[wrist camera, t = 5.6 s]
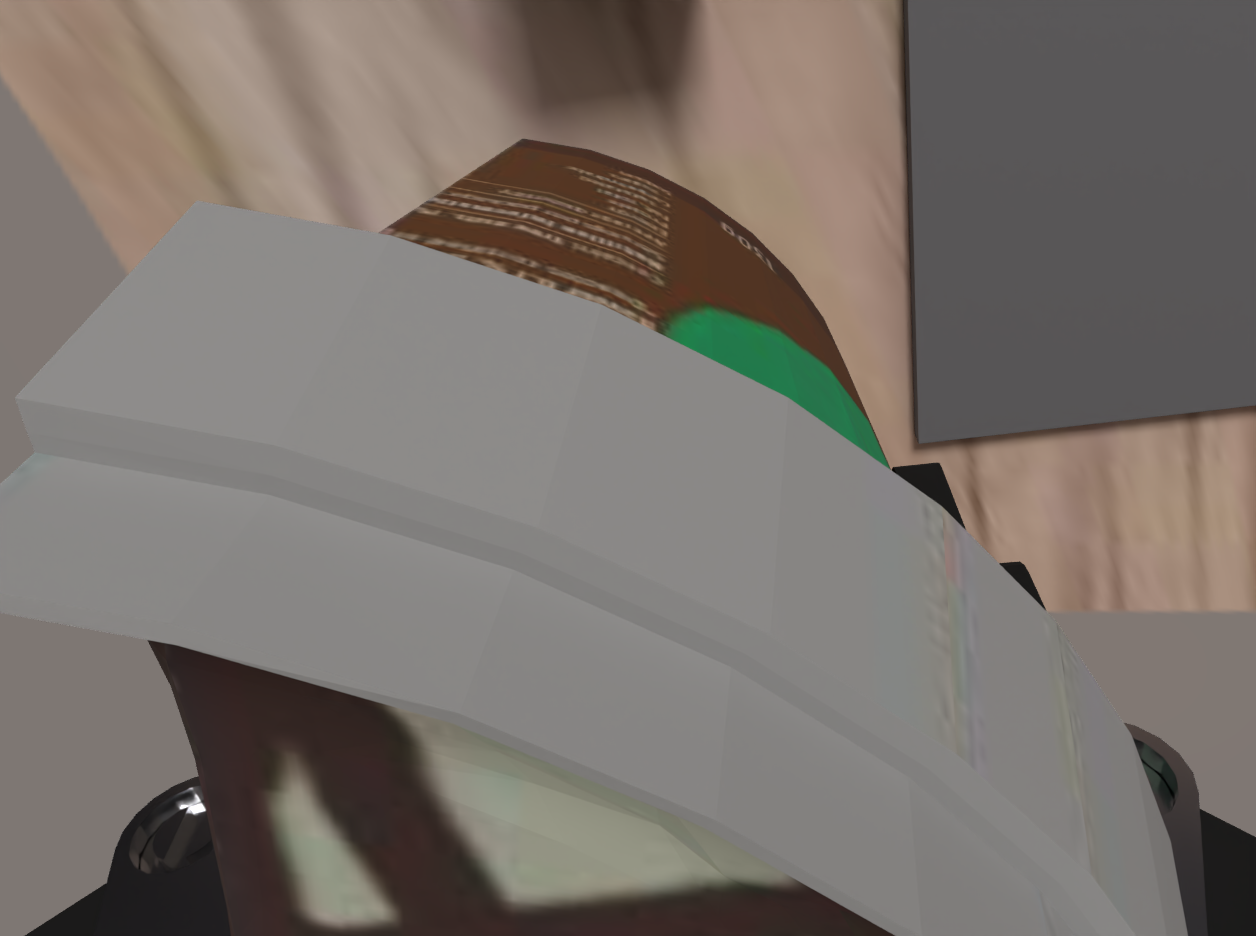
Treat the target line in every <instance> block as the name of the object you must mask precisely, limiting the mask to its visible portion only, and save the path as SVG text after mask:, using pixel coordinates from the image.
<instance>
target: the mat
mask: <svg viewBox="0 0 1256 936" xmlns="http://www.w3.org/2000/svg"><path fill="white" fill-rule="evenodd" d="M904 35H905V73H906V111H907V149H908V187H909V225H910V263H911V301H912V339H913V376H914V414H915V435H916V438H917V441H918V443H919V444H921V443H930V442H938V441H947V440H956V439H965V438H973V437H982V436H991V435H1000V434H1009V433H1017V432H1026V431H1035V430H1044V429H1052V428H1061V427H1070V426H1079V425H1088V424H1096V423H1105V422H1114V421H1123V420H1131V419H1140V418H1149V417H1158V416H1167V415H1175V414H1184V413H1193V412H1202V411H1210V410H1219V409H1228V408H1237V407H1246V406H1254V405H1256V0H904Z"/></svg>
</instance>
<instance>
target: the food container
mask: <svg viewBox="0 0 1256 936" xmlns="http://www.w3.org/2000/svg"><path fill="white" fill-rule="evenodd" d="M15 399H16V402H17V405H18V408H19V411H20V413H21V416H22V419H23V422H24V425H25V428H26V431H27V434H28V436H29V438H30V441H31V443H32V446H33V449H34V451H35V453H34V454H33V455H32V456H31V457H29V458H28V459H27V460H26V461H25V462H24V463H23V464H22V465H21V466H20V467H19V468H17V469H16V470H15V471H14V472H13V473H12V474H11V475H10V476H9V477H7V478H6V479H5V480H4V481H3V482H2V483H1V484H0V613H4V614H10V615H15V616H20V617H26V618H31V619H37V620H42V621H48V622H53V623H59V624H64V625H69V626H75V627H80V628H86V629H91V630H96V631H102V632H108V633H113V634H118V635H124V636H129V637H134V638H140V639H145V640H148V642H149V644H150V646H151V648H152V650H153V652H154V654H155V656H156V658H157V660H158V661H159V664H160V666H161V668H162V670H163V672H164V674H165V675H166V678H167V680H168V682H169V683H170V685H171V688H172V691H173V694H174V697H175V700H176V703H177V706H178V709H179V712H180V715H181V718H182V721H183V724H184V727H185V730H186V733H187V736H188V739H189V742H190V745H191V748H192V751H193V754H194V757H195V761H196V766H197V770H198V775H199V780H200V785H201V789H202V794H203V799H204V803H205V808H206V813H207V817H208V822H209V826H210V831H211V836H212V840H213V845H214V850H215V854H216V859H217V864H218V868H219V873H220V878H221V882H222V887H223V892H224V896H225V901H226V906H227V912H228V919H229V926H230V933H231V936H1188V933H1187V928H1186V922H1185V917H1184V911H1183V906H1182V900H1181V895H1180V889H1179V884H1178V878H1177V873H1176V868H1175V862H1174V857H1173V851H1172V846H1171V841H1170V838H1169V835H1168V833H1167V830H1166V827H1165V824H1164V822H1163V819H1162V816H1161V814H1160V811H1159V808H1158V805H1157V803H1156V800H1155V797H1154V795H1153V792H1152V789H1151V786H1150V784H1149V781H1148V778H1147V776H1146V773H1145V770H1144V767H1143V765H1142V762H1141V759H1140V757H1139V754H1138V751H1137V749H1136V746H1135V743H1134V740H1133V738H1132V735H1131V733H1130V732H1129V730H1128V729H1127V727H1126V726H1125V724H1124V723H1123V721H1122V720H1121V718H1120V717H1119V715H1118V714H1117V712H1116V711H1115V709H1114V708H1113V706H1112V705H1111V703H1110V702H1109V700H1108V699H1107V697H1106V696H1105V694H1104V692H1103V691H1102V689H1101V688H1100V686H1099V685H1098V684H1097V682H1096V681H1095V679H1094V677H1093V676H1092V674H1091V673H1090V671H1089V670H1088V668H1087V667H1086V665H1085V664H1084V662H1083V661H1082V659H1081V658H1080V656H1079V655H1078V653H1077V652H1076V650H1075V649H1074V647H1073V646H1072V644H1071V643H1070V641H1069V640H1068V638H1067V637H1066V635H1065V634H1064V632H1063V631H1062V629H1061V628H1060V626H1059V625H1058V623H1057V622H1056V620H1055V619H1054V618H1053V617H1052V616H1051V615H1050V614H1049V613H1048V612H1047V611H1046V610H1045V609H1044V608H1043V607H1042V606H1041V605H1040V604H1039V603H1038V602H1037V601H1036V600H1035V599H1034V598H1033V597H1032V596H1031V595H1030V594H1029V593H1028V592H1027V591H1026V590H1025V589H1024V588H1023V587H1022V586H1021V585H1020V584H1019V583H1018V582H1017V581H1016V580H1015V579H1014V578H1013V577H1012V576H1011V575H1010V574H1009V573H1008V572H1007V571H1006V570H1005V569H1004V568H1003V567H1002V566H1001V565H1000V564H999V563H998V562H997V561H996V560H995V559H994V558H993V557H992V556H991V555H990V554H989V553H988V552H987V551H986V550H985V549H984V548H983V547H982V546H981V545H980V544H979V543H978V542H977V541H976V540H975V539H974V538H973V537H972V536H971V535H970V534H969V533H968V532H967V531H966V530H965V529H964V528H963V527H962V526H961V525H960V524H959V523H958V522H957V521H956V520H955V519H954V518H953V517H952V516H951V515H950V514H949V513H948V512H947V511H946V510H945V509H944V508H943V507H942V506H941V505H939V504H938V503H936V502H935V501H934V500H932V499H931V498H929V497H928V496H927V495H925V494H924V493H922V492H921V491H920V490H918V489H917V488H915V487H914V486H912V485H911V484H910V483H908V482H907V481H905V480H904V479H903V478H901V477H900V476H898V475H897V474H896V473H894V472H893V471H891V469H890V467H889V464H888V462H887V460H886V457H885V455H884V453H883V450H882V448H881V446H880V444H879V441H878V439H877V437H876V434H875V432H874V430H873V427H872V425H871V423H870V421H869V418H868V416H867V414H866V411H865V409H864V407H863V404H862V402H861V400H860V397H859V395H858V393H857V391H856V388H855V386H854V384H853V381H852V379H851V377H850V374H849V372H848V370H847V367H846V365H845V363H844V361H843V359H842V357H841V354H840V352H839V350H838V348H837V346H836V344H835V342H834V339H833V337H832V335H831V333H830V331H829V329H828V327H827V324H826V322H825V320H824V318H823V317H822V315H821V314H820V312H819V311H818V309H817V308H816V307H815V305H814V304H813V302H812V301H811V300H810V298H809V297H808V295H807V294H806V292H805V291H804V290H803V288H802V287H801V285H800V284H799V282H798V281H797V280H796V278H795V277H794V275H793V274H792V273H791V272H790V271H789V270H788V269H787V268H786V267H785V266H784V265H783V264H782V263H781V262H780V261H779V260H778V259H777V258H776V257H775V256H774V255H773V254H772V253H771V252H770V251H769V250H768V249H767V248H766V247H765V246H764V245H763V244H762V243H761V242H760V241H759V240H758V239H757V238H756V236H755V235H754V234H753V233H751V232H750V231H749V230H747V229H746V228H744V227H743V226H742V225H740V224H739V223H738V222H736V221H735V220H733V219H732V218H731V217H729V216H728V215H727V214H725V213H724V212H723V211H721V210H720V209H718V208H717V207H716V206H714V205H713V204H712V203H710V202H709V201H707V200H706V199H705V198H703V197H701V196H699V195H697V194H695V193H693V192H691V191H689V190H688V189H686V188H684V187H682V186H680V185H678V184H676V183H674V182H672V181H670V180H668V179H666V178H664V177H662V176H660V175H658V174H656V173H655V172H653V171H651V170H648V169H645V168H642V167H639V166H636V165H634V164H631V163H628V162H625V161H622V160H619V159H616V158H613V157H610V156H607V155H604V154H601V153H598V152H595V151H592V150H588V149H582V148H576V147H570V146H564V145H558V144H552V143H546V142H540V141H534V140H528V139H521V140H520V141H518V142H517V143H515V144H514V145H512V146H511V147H509V148H507V149H506V150H504V151H503V152H501V153H500V154H498V155H497V156H495V157H494V158H492V159H491V160H489V161H488V162H486V163H485V164H483V165H481V166H480V167H478V168H477V169H475V170H474V171H472V172H471V173H469V174H468V175H466V176H465V177H463V178H462V179H460V180H459V181H457V182H455V183H454V184H452V185H451V186H449V187H448V188H446V189H445V190H443V191H442V192H440V193H439V194H437V195H436V196H434V197H433V198H431V199H429V200H428V201H426V202H425V203H423V204H422V205H420V206H419V207H417V208H416V209H414V210H413V211H411V212H410V213H408V214H407V215H405V216H404V217H402V218H400V219H399V220H397V221H396V222H394V223H393V224H391V225H390V226H388V227H387V228H385V229H384V230H382V231H381V232H379V233H374V232H369V231H363V230H357V229H352V228H346V227H341V226H335V225H330V224H324V223H318V222H313V221H307V220H302V219H296V218H291V217H285V216H279V215H274V214H268V213H263V212H257V211H251V210H246V209H240V208H235V207H229V206H224V205H218V204H212V203H207V202H201V201H196V202H195V203H194V204H193V205H192V207H191V208H190V209H189V210H188V211H187V212H186V213H185V214H184V215H183V216H182V217H181V218H180V219H179V221H178V222H177V223H176V224H175V225H174V226H173V227H172V228H171V229H170V230H169V231H168V232H167V234H166V235H165V236H164V237H163V238H162V239H161V240H160V241H159V242H158V243H157V244H156V245H155V247H154V248H153V249H152V250H151V251H150V252H149V253H148V254H147V255H146V256H145V257H144V258H143V260H142V261H141V262H140V263H139V264H138V265H137V266H136V267H135V268H134V269H133V270H132V271H131V273H130V274H129V275H128V276H127V277H126V278H125V279H124V280H123V281H122V282H121V283H120V284H119V286H118V287H117V288H116V289H115V290H114V291H113V292H112V293H111V294H110V295H109V297H108V298H107V299H106V300H105V301H104V302H103V303H102V304H101V305H100V306H99V307H98V308H97V309H96V311H95V312H94V313H93V314H92V315H91V316H90V317H89V318H88V319H87V320H86V321H85V323H83V325H82V326H81V327H80V328H79V329H78V330H77V331H76V332H75V333H74V334H73V335H72V337H71V338H70V339H69V340H68V341H67V342H66V343H65V344H64V345H63V346H62V347H61V348H60V350H59V351H58V352H57V353H56V354H55V355H54V356H53V357H52V358H51V359H50V360H49V361H48V362H47V364H46V365H45V366H44V367H43V368H42V369H41V370H40V371H39V372H38V373H37V374H36V375H35V377H34V378H33V379H32V380H31V381H30V382H29V383H28V384H27V385H26V386H25V387H24V389H23V390H22V391H21V392H20V393H19V394H18V395H17V396H16V397H15Z"/></svg>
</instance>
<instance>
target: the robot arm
mask: <svg viewBox="0 0 1256 936" xmlns="http://www.w3.org/2000/svg"><path fill="white" fill-rule="evenodd" d="M892 471H893V472H894V473H896V474H897V475H898V476H900V477H901V478H903V479H904V480H905V481H907V482H908V483H910V484H911V485H912V486H914V487H915V488H917V489H918V490H920V491H921V492H922V493H924V494H925V495H927V496H928V497H929V498H931V499H932V500H934V501H935V502H936V503H938V504H939V505H941V506H942V507H943V508H944V509H945V510H946V511H947V512H948V513H949V514H950V515H951V516H952V517H953V518H954V519H955V520H956V521H957V522H958V523H959V524H960V525H961V526H962V527H963V528H964V529H965V526H964V524H963V521H962V518H961V516H960V513H959V511H958V508H957V506H956V503H955V500H954V498H953V495H952V493H951V490H950V488H949V485H948V483H947V480H946V477H945V475H944V472H943V470H942V467H941V465H940V463H929V464H920V465H910V466H900V467H893V468H892ZM965 530H966V529H965ZM999 564H1000V565H1001V566H1002V567H1003V568H1004V569H1005V570H1006V571H1007V572H1008V573H1009V574H1010V575H1011V576H1012V577H1013V578H1014V579H1015V580H1016V581H1017V582H1018V583H1019V584H1020V585H1021V586H1022V587H1023V588H1024V589H1025V590H1026V591H1027V592H1028V593H1029V594H1030V595H1031V596H1032V597H1033V598H1034V599H1035V600H1036V601H1037V602H1038V603H1039V604H1040V605H1041V606H1042V607H1043V608H1044V609H1045V607H1044V605H1043V602H1042V600H1041V598H1040V596H1039V594H1038V592H1037V589H1036V587H1035V585H1034V583H1033V581H1032V578H1031V576H1030V574H1029V572H1028V570H1027V569H1026V567H1025V565H1024V564H1022V563H1021V562H1009V563H999ZM1045 610H1046V609H1045ZM1124 724H1125V726H1126V727H1127V729H1128V730H1129V732H1130V733H1131V735H1132V738H1133V740H1134V743H1135V746H1136V749H1137V751H1138V754H1139V757H1140V759H1141V762H1142V765H1143V767H1144V770H1145V773H1146V776H1147V778H1148V781H1149V784H1150V786H1151V789H1152V792H1153V795H1154V797H1155V800H1156V803H1157V805H1158V808H1159V811H1160V814H1161V816H1162V819H1163V822H1164V824H1165V827H1166V830H1167V833H1168V835H1169V838H1170V841H1171V846H1172V851H1173V857H1174V862H1175V868H1176V873H1177V878H1178V884H1179V889H1180V895H1181V900H1182V906H1183V911H1184V917H1185V922H1186V928H1187V933H1188V936H1256V837H1254V836H1252V835H1250V834H1248V833H1246V832H1244V831H1242V830H1241V829H1239V828H1237V827H1235V826H1233V825H1231V824H1229V823H1226V822H1225V821H1223V820H1221V819H1219V818H1217V817H1215V816H1213V815H1211V814H1209V813H1207V812H1205V811H1203V810H1201V809H1200V805H1199V792H1198V789H1197V785H1196V781H1195V778H1194V774H1193V772H1192V770H1191V769H1190V768H1189V766H1188V765H1187V764H1186V762H1185V761H1184V759H1183V758H1182V757H1181V755H1180V754H1179V753H1178V752H1177V751H1175V750H1174V749H1173V748H1172V747H1170V746H1169V745H1168V744H1167V743H1165V742H1164V741H1163V740H1162V739H1160V738H1159V737H1157V736H1155V735H1153V734H1151V733H1149V732H1147V731H1145V730H1143V729H1141V728H1139V727H1137V726H1135V725H1131V724H1127V723H1124ZM25 936H231V933H230V926H229V919H228V912H227V906H226V901H225V896H224V892H223V887H222V882H221V878H220V873H219V868H218V864H217V859H216V854H215V850H214V845H213V840H212V836H211V831H210V826H209V822H208V817H207V813H206V808H205V803H204V799H203V794H202V789H201V785H200V780H199V776H198V777H194V778H191V779H189V780H187V781H184V782H182V783H180V784H177V785H175V786H173V787H171V788H169V789H168V790H166V791H165V792H163V793H162V794H160V795H159V796H157V797H155V798H154V799H153V800H152V801H150V802H149V803H148V804H147V805H146V806H145V807H144V808H142V809H141V810H140V811H139V812H138V813H137V814H136V815H135V816H134V818H133V819H132V820H131V822H130V823H129V824H128V825H127V827H126V828H125V829H124V831H123V832H122V834H121V837H120V839H119V841H118V844H117V846H116V848H115V852H114V856H113V859H112V864H111V868H110V871H109V875H108V879H107V883H106V884H104V885H103V886H101V887H100V888H98V889H97V890H95V891H94V892H92V893H91V894H89V895H88V896H86V897H84V898H83V899H81V900H80V901H78V902H76V903H75V904H74V905H72V906H70V907H69V908H67V909H66V910H64V911H63V912H61V913H59V914H58V915H56V916H55V917H53V918H52V919H50V920H49V921H47V922H45V923H44V924H42V925H41V926H39V927H38V928H36V929H34V930H33V931H31V932H30V933H28V934H27V935H25Z"/></svg>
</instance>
